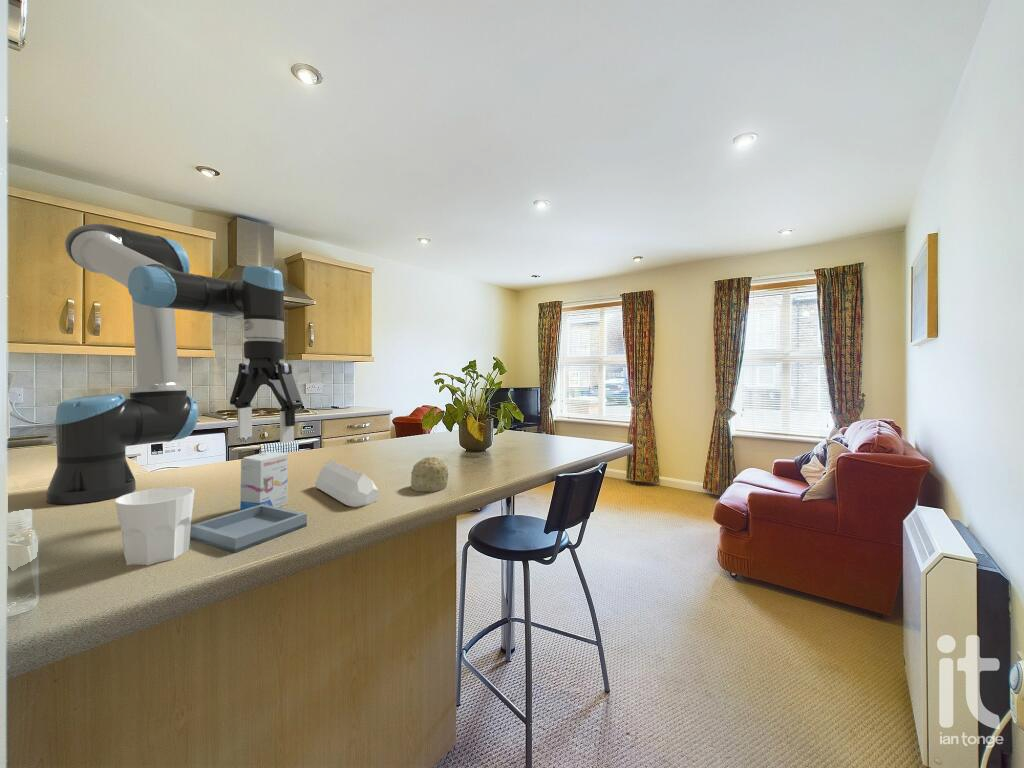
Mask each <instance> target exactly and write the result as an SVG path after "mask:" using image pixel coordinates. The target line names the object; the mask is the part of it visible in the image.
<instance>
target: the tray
mask: <svg viewBox="0 0 1024 768" xmlns="http://www.w3.org/2000/svg"><path fill="white" fill-rule="evenodd" d="M307 526H308V513H306V512H305V513H304V512H301V511H296V510H291V509H286V508H283V507H274V506H270V505H265V504H261V505H258V506H254V507H251V508H247V509H244V510H241V511H240V510H238V511H234V512H231V513H227V514H223V515H221V516H218V517H215V518H211V519H207V520H203V521H200V522H197V523H193V524H191V529H190V540H192V541H196V542H199V543H202V544H205V545H209V546H212V547H215V548H219V549H222V550H224V551H229V552H231V553H235V554H237V553H239V552H241V551H244V550H247V549H250V548H252V547H254V546H258V545H260V544H262V543H266V542H268V541H271V540H273V539H276V538H279V537H282V536H284V535H287V534H289V533H292V532H294V531H297V530H300V529H302V528H305V527H307Z"/></svg>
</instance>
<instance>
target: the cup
mask: <svg viewBox="0 0 1024 768" xmlns="http://www.w3.org/2000/svg"><path fill="white" fill-rule="evenodd" d="M194 498H195V489H194V488H192V487H189V486H163V487H154V488H148V489H143V490H138V491H133V492H131V493H128V494H126V495H122V496H119V497H116V499H114V500H115V502H114V503H115V507H116V512H117V518H118V519H117V520H118V523H119V524H118V525H119V527H120V530H121V538H122V547H123V555H124V560H125V563H126V566H132V565H145V566H151V565H154V564H156V563H161V562H164V561H165V562H166V561H171V560H175V559H176V558H177V557H178V556H180V555H182V554H185V553H186V552H189V551H190V542H191V539H190V529H191V525H192V517H193V509H194V508H193V507H194V500H195V499H194Z"/></svg>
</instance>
